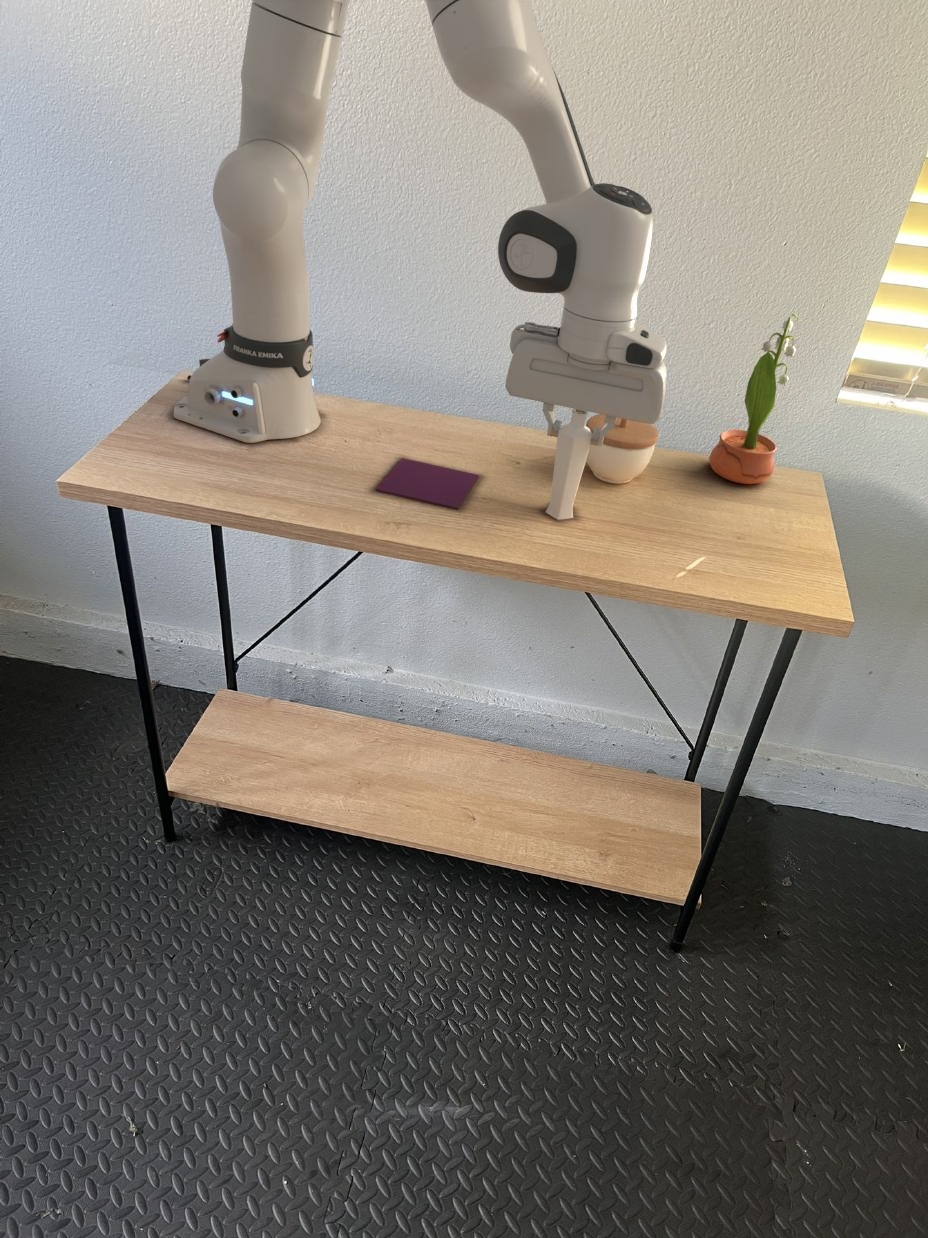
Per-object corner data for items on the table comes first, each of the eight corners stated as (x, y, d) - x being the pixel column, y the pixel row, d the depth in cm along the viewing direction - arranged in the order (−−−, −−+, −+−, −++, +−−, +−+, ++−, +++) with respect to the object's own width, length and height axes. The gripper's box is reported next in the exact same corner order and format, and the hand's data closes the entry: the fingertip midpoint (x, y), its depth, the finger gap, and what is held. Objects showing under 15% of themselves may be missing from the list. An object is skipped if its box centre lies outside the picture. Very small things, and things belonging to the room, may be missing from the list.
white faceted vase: (567, 524, 116) (589, 421, 107) (539, 514, 118) (558, 411, 109) (582, 512, 119) (604, 411, 111) (554, 502, 121) (574, 401, 112)
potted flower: (713, 450, 142) (758, 297, 127) (773, 466, 139) (827, 311, 125) (701, 478, 133) (749, 315, 118) (766, 495, 130) (823, 331, 115)
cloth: (375, 490, 118) (375, 488, 118) (402, 459, 127) (402, 457, 127) (457, 509, 116) (458, 507, 116) (478, 476, 125) (479, 474, 125)
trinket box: (646, 496, 125) (661, 437, 120) (574, 483, 127) (586, 424, 121) (647, 466, 134) (661, 409, 129) (580, 454, 135) (591, 397, 130)
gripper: (507, 325, 103) (493, 432, 111) (675, 357, 100) (648, 465, 108) (519, 312, 108) (504, 415, 116) (679, 342, 105) (653, 446, 113)
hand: (575, 439), depth 112 cm, fingers closed on white faceted vase, 4 cm apart
